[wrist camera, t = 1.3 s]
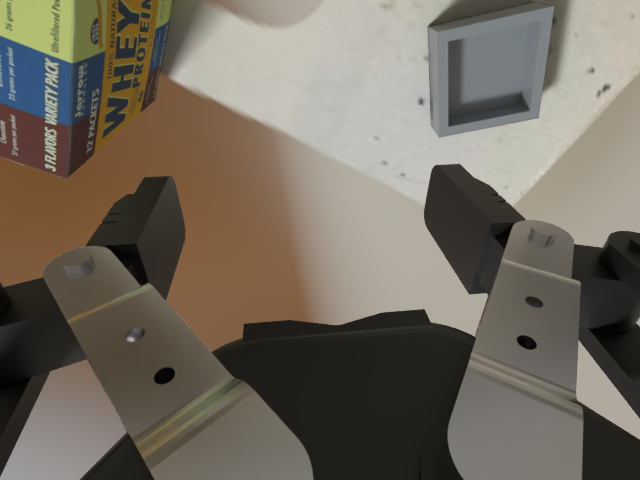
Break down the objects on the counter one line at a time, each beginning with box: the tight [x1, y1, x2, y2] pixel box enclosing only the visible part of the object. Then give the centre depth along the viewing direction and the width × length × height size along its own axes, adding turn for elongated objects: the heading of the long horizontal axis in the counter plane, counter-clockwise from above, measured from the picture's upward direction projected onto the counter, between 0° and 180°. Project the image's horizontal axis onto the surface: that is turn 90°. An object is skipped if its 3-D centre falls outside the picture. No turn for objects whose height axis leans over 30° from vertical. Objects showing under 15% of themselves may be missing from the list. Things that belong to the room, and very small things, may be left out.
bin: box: [428, 2, 554, 137], centre depth 32 cm, size 8×8×3 cm
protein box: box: [0, 0, 173, 179], centre depth 24 cm, size 10×15×16 cm
